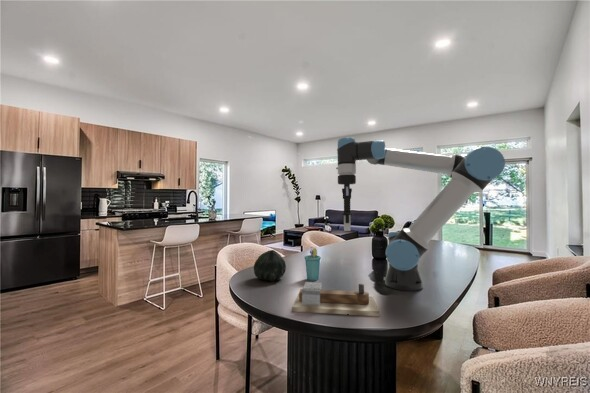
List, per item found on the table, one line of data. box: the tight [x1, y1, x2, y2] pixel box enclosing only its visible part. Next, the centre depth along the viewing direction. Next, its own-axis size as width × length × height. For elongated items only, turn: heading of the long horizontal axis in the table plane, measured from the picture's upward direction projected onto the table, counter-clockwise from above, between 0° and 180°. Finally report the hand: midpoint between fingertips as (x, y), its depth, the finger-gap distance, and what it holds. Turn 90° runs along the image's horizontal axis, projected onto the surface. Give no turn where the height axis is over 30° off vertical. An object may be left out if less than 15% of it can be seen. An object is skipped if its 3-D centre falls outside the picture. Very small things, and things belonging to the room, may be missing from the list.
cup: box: [304, 247, 322, 282], centre depth 131 cm, size 14×8×15 cm, turn 171°
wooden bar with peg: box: [298, 283, 370, 305], centre depth 97 cm, size 24×5×6 cm, turn 81°
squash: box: [253, 249, 287, 282], centre depth 131 cm, size 14×15×15 cm
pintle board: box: [292, 293, 380, 317], centre depth 97 cm, size 28×14×2 cm, turn 81°
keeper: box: [302, 281, 323, 306], centre depth 98 cm, size 6×10×5 cm, turn 171°
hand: (347, 230), depth 117 cm, fingers closed
